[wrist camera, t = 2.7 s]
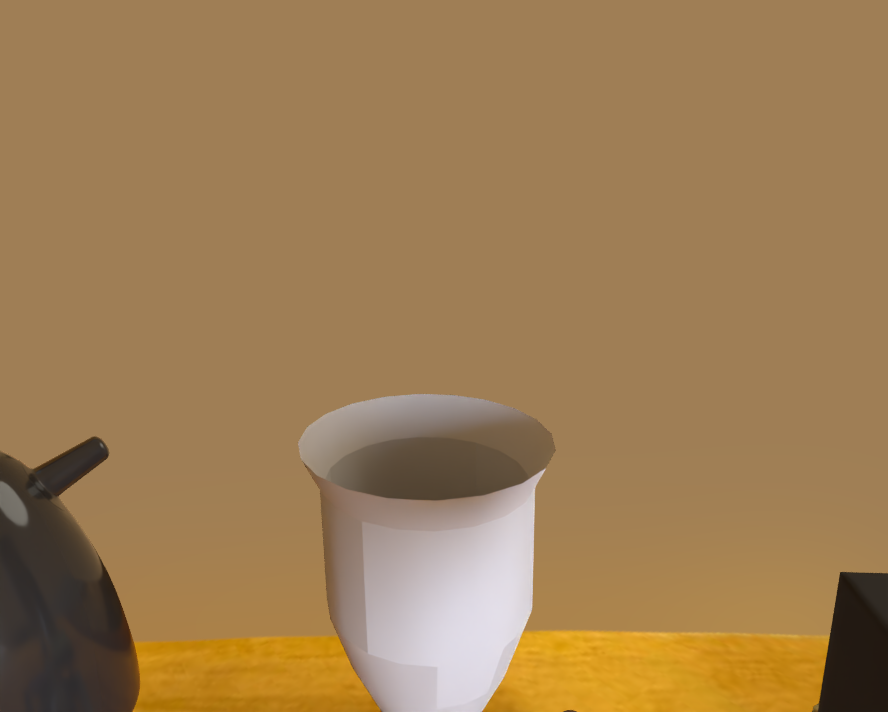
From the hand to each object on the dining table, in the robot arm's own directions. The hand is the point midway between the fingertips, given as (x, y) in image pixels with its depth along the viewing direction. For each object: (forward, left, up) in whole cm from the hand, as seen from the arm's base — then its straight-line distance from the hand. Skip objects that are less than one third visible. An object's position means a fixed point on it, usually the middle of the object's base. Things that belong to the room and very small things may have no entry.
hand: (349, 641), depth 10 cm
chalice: (-2, -10, -19) cm, 22 cm away
